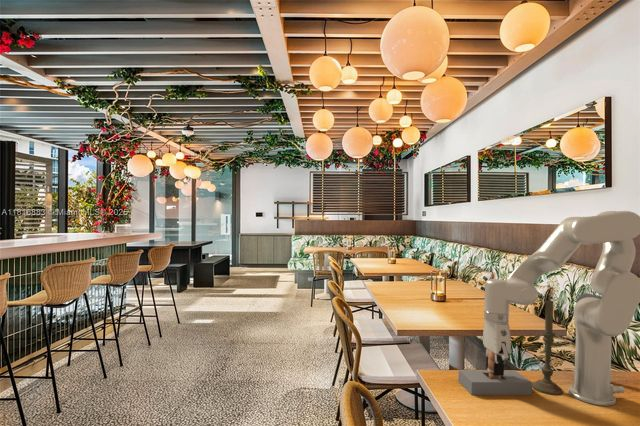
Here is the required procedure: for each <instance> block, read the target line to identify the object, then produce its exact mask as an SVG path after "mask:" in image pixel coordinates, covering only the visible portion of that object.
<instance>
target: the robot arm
mask: <svg viewBox="0 0 640 426" xmlns="http://www.w3.org/2000/svg"><path fill="white" fill-rule="evenodd" d="M639 235H640V215H638V214H637V213H636V212H634V211H630V210H617V211H616V210H607V211H603V212H600V213H598V214H596V215H592V216H569V217H566V218H565V219H563V220H562V221H561V222H560V223H559V224H558V225H557V226H556V228H555V229H554V230H553V231H552V233H550V235H549V236H548V237H547V238H546V240H545V241H544V242H543V243H542V245H540V247H539V248H538V249H537V250H536V251H535V252H533V253H532V254H530V255H529V256H528V257H527V258H526V259H525V260H523V261H522V262H521V263H520V264H518V266H517V267H516V268H515V269H514V270H513V271H512V273H511V274H510V275H509V276H508V278H507V279H506V280H504V279H501V278H489V279H487V280H486V281H485V282H484V283H485V284H484V308H483V309H484V310H483V320H484V324H483V330H482V331H483V332H482V343H483V346H484V349H485V356H486V358H485V359H486V360H485V366H486V367H485V368H486V369H485V370H488V351H489V349H490V350H491V351H492V352H493V353H494V354H495V363H494V372H493V374H494V375H504V370H505V363H506V361H507V360H508V359H509V355H511V351H512V350H511V349H512V348H511V342H512V341H511V340H512V339H511V330H510V324H509V322H510V304H516V305H521V306H530V305H533V304H534V303H536V302H537V300H538V298H539V292H538V289H537V288H536V286H535V285H534V283H535V282H536V281H537V280H538V279H539V278H541V277H542V276H543V275H545V274H547V273H550V272H553V271H556V270H558V269H559V268H562V267H563V266H564V265H565V264H566V263H567V262H568V260H569V259H570V258H571V257H572V256H573V254H574V253H575V252H576V250H578V248H579V247H580V246H581V245H597V244H598V245H600V244H602V250H601V254H600V257H599V259H598V262H597V263H596V266H595V269H594V270H593V272H592V275H591V278H590V287H591V289H592V290H593V291H594V293H596V294H598V295H599V296H602V298H601V300H600V299H597V298H593V297H587V298H583V299H581V300H579V301H578V302H577V301H576V302H575V303H576V304H575V306H574V308H573V319H574V320H573V321H574V326H575V327H574V328H575V348H574V349H575V351H574V378H573V379H574V383H573V385H569V387H568V393H569V394H570V396H572V397H574V398H575V399H576V400H579V401H581V402H584V403H588V404H590V405H596V406H605V407H607V406H613V405H615V404H616V403H617V398H616V397H615V396H614V395H615V394H616V393H617V394H624V393H625V391H626V390H625V388H624V387H623V386H614V384H612V383H611V378H612V377H611V376H612V375H611V373H612V371H611V370H612V347H613V345H612V337H618V336H620V335H622V334H624V333H625V332H626V331H627V330H628V329H629V326H630V324H631V322H632V320H633V318H634V316H635V313H636V311H637V309H638V306H639V303H640V278H639V277H638V276H637V274H635V273H632V272H631V269H632V267H633V264H634V262H635V258H636V246H635V243H634V242H635V241H634V238H636V237H638V236H639ZM499 352H501V353H499ZM498 355H501V357H499V358H498Z"/></svg>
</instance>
